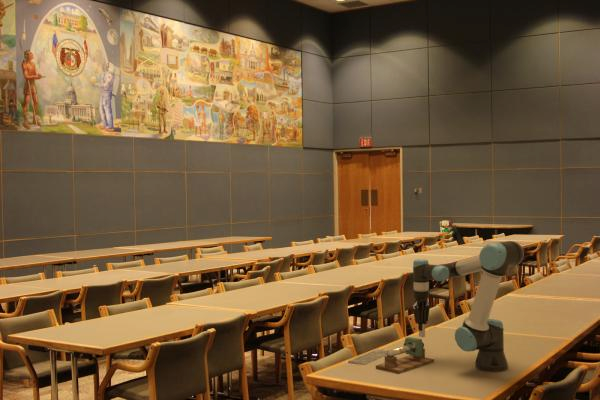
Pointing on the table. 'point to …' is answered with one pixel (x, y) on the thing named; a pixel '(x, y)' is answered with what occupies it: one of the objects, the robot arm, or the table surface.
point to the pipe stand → (404, 363)
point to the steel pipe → (401, 350)
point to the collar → (417, 343)
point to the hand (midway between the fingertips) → (422, 336)
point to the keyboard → (369, 357)
